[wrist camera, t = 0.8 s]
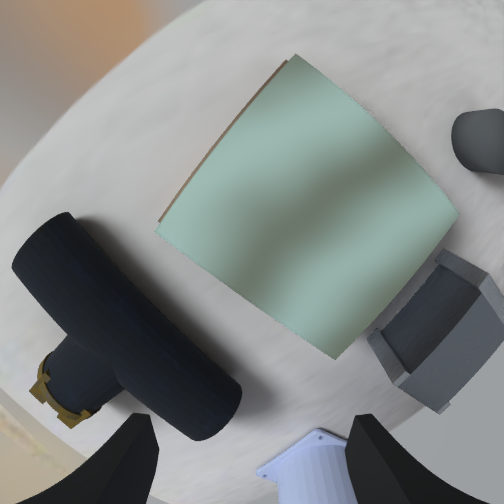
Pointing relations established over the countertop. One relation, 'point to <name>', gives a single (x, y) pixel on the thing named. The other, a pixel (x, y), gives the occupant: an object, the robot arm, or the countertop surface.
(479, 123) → the knob
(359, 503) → the robot arm
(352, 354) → the countertop surface
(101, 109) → the countertop surface
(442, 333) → the housing
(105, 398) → the pipe connector
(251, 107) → the stand
